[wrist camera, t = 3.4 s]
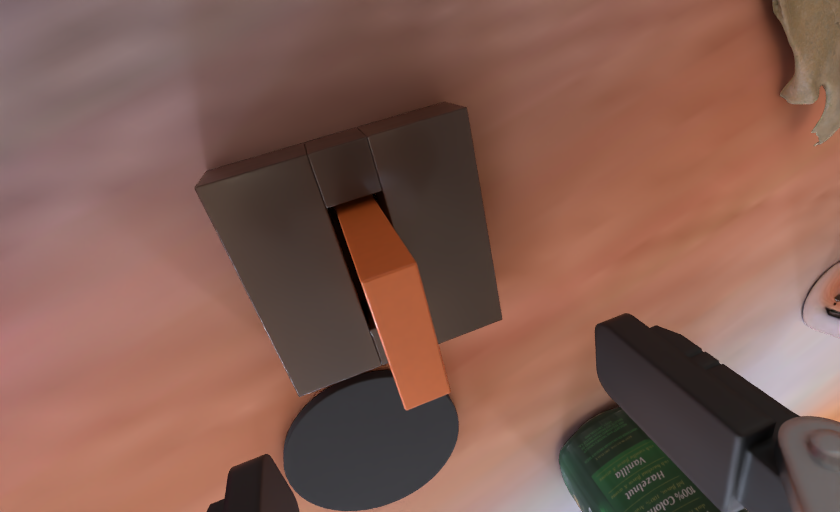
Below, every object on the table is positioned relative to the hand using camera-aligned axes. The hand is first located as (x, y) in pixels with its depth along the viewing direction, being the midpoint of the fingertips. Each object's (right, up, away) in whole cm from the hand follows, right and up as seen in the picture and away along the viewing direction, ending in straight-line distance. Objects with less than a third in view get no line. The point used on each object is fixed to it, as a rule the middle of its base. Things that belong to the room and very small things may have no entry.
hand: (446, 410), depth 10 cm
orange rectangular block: (-3, +4, +10) cm, 11 cm away
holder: (-3, +4, +10) cm, 11 cm away
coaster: (-3, -7, +15) cm, 17 cm away
